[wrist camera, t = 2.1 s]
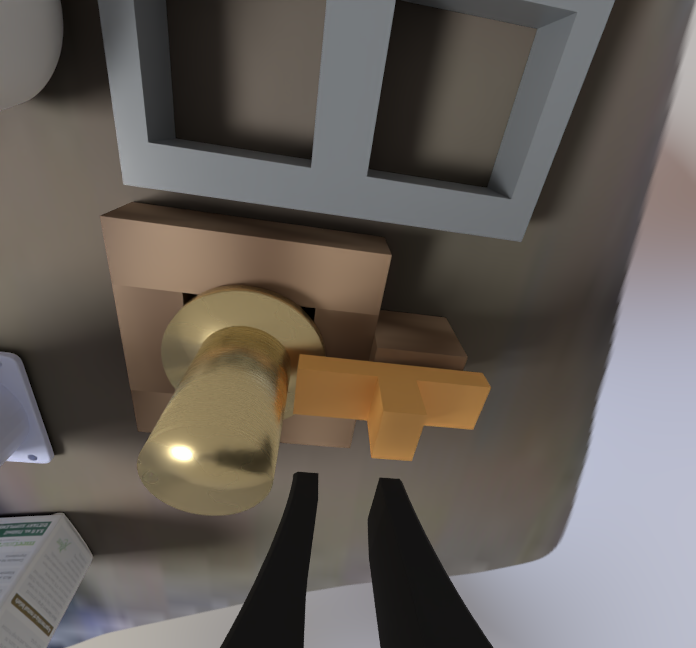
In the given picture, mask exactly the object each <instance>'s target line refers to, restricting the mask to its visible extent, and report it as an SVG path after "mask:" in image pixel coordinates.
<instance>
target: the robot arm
mask: <svg viewBox="0 0 696 648" xmlns="http://www.w3.org/2000/svg"><path fill="white" fill-rule="evenodd" d="M53 457H54V452H53V449H52V447H51V444H50V441H49V438H48V435H47V432H46V429H45V426H44V423H43V420H42V417H41V415H40V412H39V409H38V406H37V403H36V400H35V397H34V394H33V391H32V388H31V385H30V383H29V380H28V377H27V374H26V371H25V368H24V365H23V362H22V360H21V358H20V357H19V356H17V355H16V354H13V353H9V352H0V467H1V466H2V464H3V463H4V462H5V461H15V462H30V463H49V462H50V461H51V460H52V459H53ZM317 503H318V473H306V472H297V473H295V474H294V475H293V481H292V486H291V490H290V494H289V498H288V501H287V504H286V507H285V510H284V513H283V516H282V519H281V522H280V524H279V527H278V529H277V532H276V534H275V537H274V539H273V542H272V544H271V547H270V549H269V552H268V554H267V556H266V558H265V560H264V563H263V565H262V567H261V569H260V571H259V573H258V576H257V578H256V580H255V582H254V584H253V586H252V588H251V590H250V592H249V594H248V596H247V598H246V600H245V602H244V604H243V607H242V608H241V610H240V612H239V614H238V616H237V618H236V620H235V622H234V623H233V625H232V627H231V629H230V631H229V633H228V634H227V636H226V638H225V640H224V642H223V644H222V645H221V647H220V648H304V624H305V601H306V588H307V578H308V570H309V563H310V555H311V548H312V540H313V533H314V525H315V518H316V510H317ZM368 545H369V561H370V569H371V577H372V585H373V593H374V601H375V608H376V616H377V624H378V631H379V639H380V647H381V648H493V646H492V645H491V643H490V642H489V641H488V639H487V638H486V636H485V635H484V633H483V632H482V630H481V629H480V627H479V626H478V624H477V622H476V621H475V620H474V618H473V617H472V615H471V613H470V612H469V610H468V608H467V607H466V605H465V604H464V602H463V600H462V599H461V597H460V595H459V594H458V592H457V590H456V589H455V587H454V585H453V583H452V582H451V580H450V578H449V577H448V575H447V573H446V571H445V570H444V568H443V566H442V564H441V562H440V560H439V559H438V557H437V555H436V553H435V551H434V549H433V547H432V545H431V543H430V541H429V540H428V538H427V536H426V534H425V532H424V530H423V528H422V526H421V524H420V521H419V519H418V517H417V515H416V513H415V511H414V509H413V506H412V504H411V502H410V500H409V498H408V495H407V493H406V491H405V488H404V486H403V483H402V481H401V480H400V479H391V478H379V482H378V485H377V489H376V492H375V496H374V499H373V503H372V506H371V509H370V513H369V516H368Z"/></svg>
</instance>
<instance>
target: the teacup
mask: <svg viewBox="0 0 696 648" xmlns="http://www.w3.org/2000/svg"><path fill="white" fill-rule="evenodd" d="M62 41H63V14H62V6H61V0H0V111H3V110H5V109H8V108H11V107H14V106H16V105H19V104H22V103H24V102H26V101H28V100H30V99H32V98H33V97H34V96H36V95H37V94H38V93H39V92H40V91H41V90H42V89H43V88H44V86H45V85H46V84H47V82H48V81H49V79H50V78H51V76H52V74H53V72H54V70H55V68H56V66H57V63H58V60H59V57H60V53H61V48H62Z"/></svg>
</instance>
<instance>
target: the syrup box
mask: <svg viewBox="0 0 696 648" xmlns="http://www.w3.org/2000/svg"><path fill="white" fill-rule="evenodd" d="M92 559H93V555H92V553H91V551H90V550H89V548H88V546H87V544H86V543H85V541H84V540H83V539H82V537H81V535H80V534H79V533H78V532H77V530H76V529H75V527H74V526H73V525H72V523H71V522H70V521H69V519H68V518H67V517H66V516H65V514H64V513H55V514H53V515H44V516H24V517H7V518H0V648H46V647H47V646H48V644H49V642H50V640H51V638H52V636H53V634H54V632H55V630H56V628H57V627H58V625H59V622H60V621H61V619H62V617H63V615H64V613H65V611H66V609H67V607H68V605H69V603H70V601H71V600H72V598H73V596H74V594H75V592H76V590H77V588H78V586H79V585H80V583H81V581H82V579H83V577H84V575H85V573H86V571H87V569H88V568H89V566H90V564H91V562H92Z"/></svg>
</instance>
